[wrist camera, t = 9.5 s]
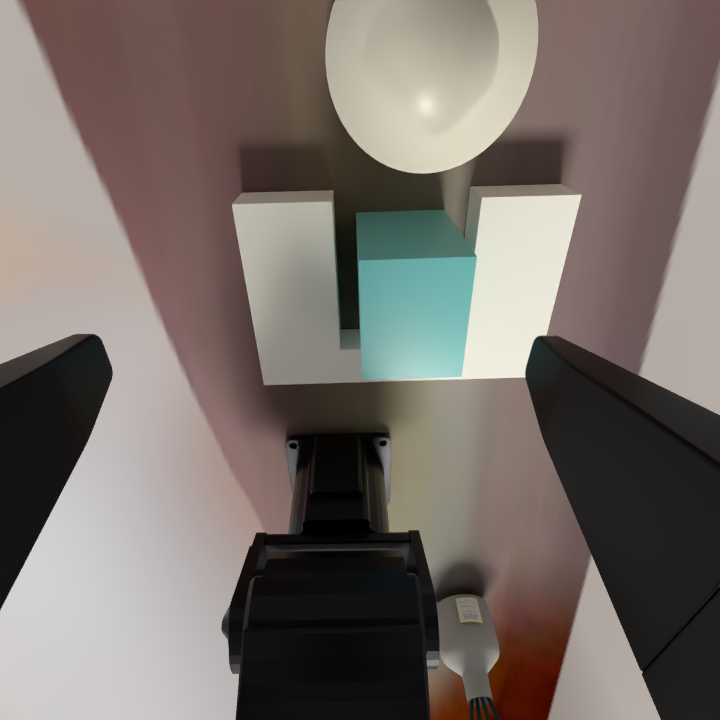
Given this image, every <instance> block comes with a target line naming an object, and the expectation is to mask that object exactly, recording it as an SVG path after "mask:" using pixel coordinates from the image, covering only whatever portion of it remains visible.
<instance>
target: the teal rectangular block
mask: <svg viewBox="0 0 720 720" xmlns="http://www.w3.org/2000/svg"><path fill="white" fill-rule="evenodd" d="M356 234H357V266H358V298H359V325H360V347H361V370H362V380H385V379H413V378H442V377H462V370H463V363H464V355H465V347H466V339H467V331H468V323H469V316H470V308H471V300H472V292H473V284H474V276H475V269H476V261H477V256H476V254H475V253H474V252H473V250H472V249H471V247H470V246H469V244H468V243H467V241H466V240H465V239H464V237H463V236H462V234H461V233H460V231H459V230H458V229H457V227H456V226H455V224H454V223H453V221H452V220H451V218H450V217H449V216H448V214H447V213H446V211H445V210H418V211H388V212H358V213H356Z"/></svg>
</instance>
